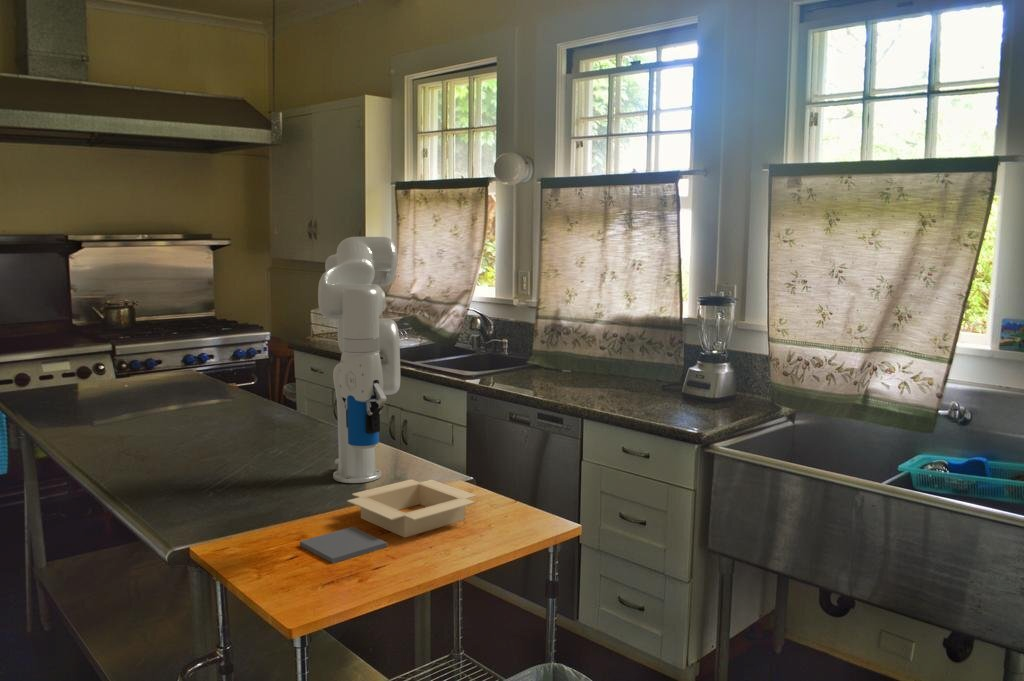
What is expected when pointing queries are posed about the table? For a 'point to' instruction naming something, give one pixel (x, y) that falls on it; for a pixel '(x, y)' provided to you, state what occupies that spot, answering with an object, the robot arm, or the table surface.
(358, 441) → the beverage can
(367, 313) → the robot arm
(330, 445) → the table surface
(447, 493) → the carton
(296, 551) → the table surface
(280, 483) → the table surface
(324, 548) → the mat
